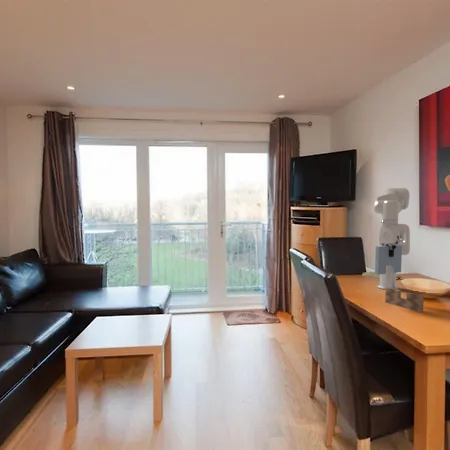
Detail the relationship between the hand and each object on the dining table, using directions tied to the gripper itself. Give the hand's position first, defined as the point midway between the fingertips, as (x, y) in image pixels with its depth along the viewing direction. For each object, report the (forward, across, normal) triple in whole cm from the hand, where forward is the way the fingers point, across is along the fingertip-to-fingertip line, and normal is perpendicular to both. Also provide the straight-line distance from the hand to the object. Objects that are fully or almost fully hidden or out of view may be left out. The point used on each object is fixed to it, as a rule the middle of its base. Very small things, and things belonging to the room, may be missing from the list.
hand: (389, 256), depth 185 cm
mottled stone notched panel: (+26, +9, +1) cm, 27 cm away
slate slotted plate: (+9, 0, 0) cm, 9 cm away
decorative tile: (+25, -49, +53) cm, 76 cm away
